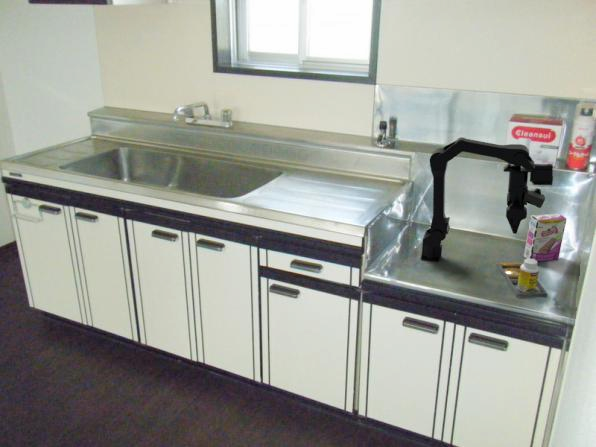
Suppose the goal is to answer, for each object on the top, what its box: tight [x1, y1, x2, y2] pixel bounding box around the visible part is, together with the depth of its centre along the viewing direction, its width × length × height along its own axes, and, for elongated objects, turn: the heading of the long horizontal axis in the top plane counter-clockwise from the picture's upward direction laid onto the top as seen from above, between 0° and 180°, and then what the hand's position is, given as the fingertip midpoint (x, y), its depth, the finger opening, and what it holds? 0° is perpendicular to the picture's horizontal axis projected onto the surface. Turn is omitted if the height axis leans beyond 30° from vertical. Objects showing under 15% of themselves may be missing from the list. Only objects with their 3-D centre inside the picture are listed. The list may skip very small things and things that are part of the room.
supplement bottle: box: [517, 258, 540, 292], centre depth 184 cm, size 6×6×10 cm
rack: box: [495, 261, 548, 298], centre depth 191 cm, size 22×10×1 cm, turn 178°
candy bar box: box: [523, 213, 567, 263], centre depth 203 cm, size 11×5×16 cm, turn 100°
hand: (514, 228), depth 194 cm, fingers open, 9 cm apart
